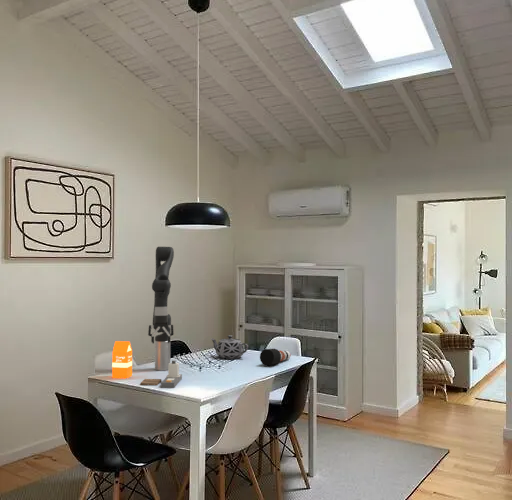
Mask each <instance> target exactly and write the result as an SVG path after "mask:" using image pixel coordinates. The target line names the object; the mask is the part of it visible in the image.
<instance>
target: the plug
mask: <svg viewBox="0 0 512 500" xmlns="http://www.w3.org/2000/svg"><path fill="white" fill-rule="evenodd" d="M167 372H168V374H167V375H168V376H179V374H180V363H179V362H176V360H171V362H170V363H169V364H168V370H167Z"/></svg>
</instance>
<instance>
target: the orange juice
mask: <svg viewBox="0 0 512 500" xmlns="http://www.w3.org/2000/svg"><path fill="white" fill-rule="evenodd" d="M111 357H112V358H111V359H112V362H111V364H112V365H111V371H112V373H111V378H112V379H126V378H127V379H129V378H130V377H132V376H133V348H132V344H131V341H124V340H123V341H121V340H116V341H114V345H113V349H112V355H111Z"/></svg>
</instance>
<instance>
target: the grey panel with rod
mask: <svg viewBox="0 0 512 500" xmlns="http://www.w3.org/2000/svg"><path fill="white" fill-rule="evenodd" d="M182 378H183V374H182V373H179V376H168V374H167V375H166V377H164V379H163V380H161V382H160V388H163V389H164V388H167V389H175V388H176V386H177V385H178V384H179V383H180V382H181V381H182V380H183V379H182Z"/></svg>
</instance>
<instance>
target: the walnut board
mask: <svg viewBox="0 0 512 500" xmlns="http://www.w3.org/2000/svg"><path fill="white" fill-rule="evenodd" d="M161 382H162V378H144V379H143V380H142V381H140V384H139V385H140V386H158V385H160V384H161Z"/></svg>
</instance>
